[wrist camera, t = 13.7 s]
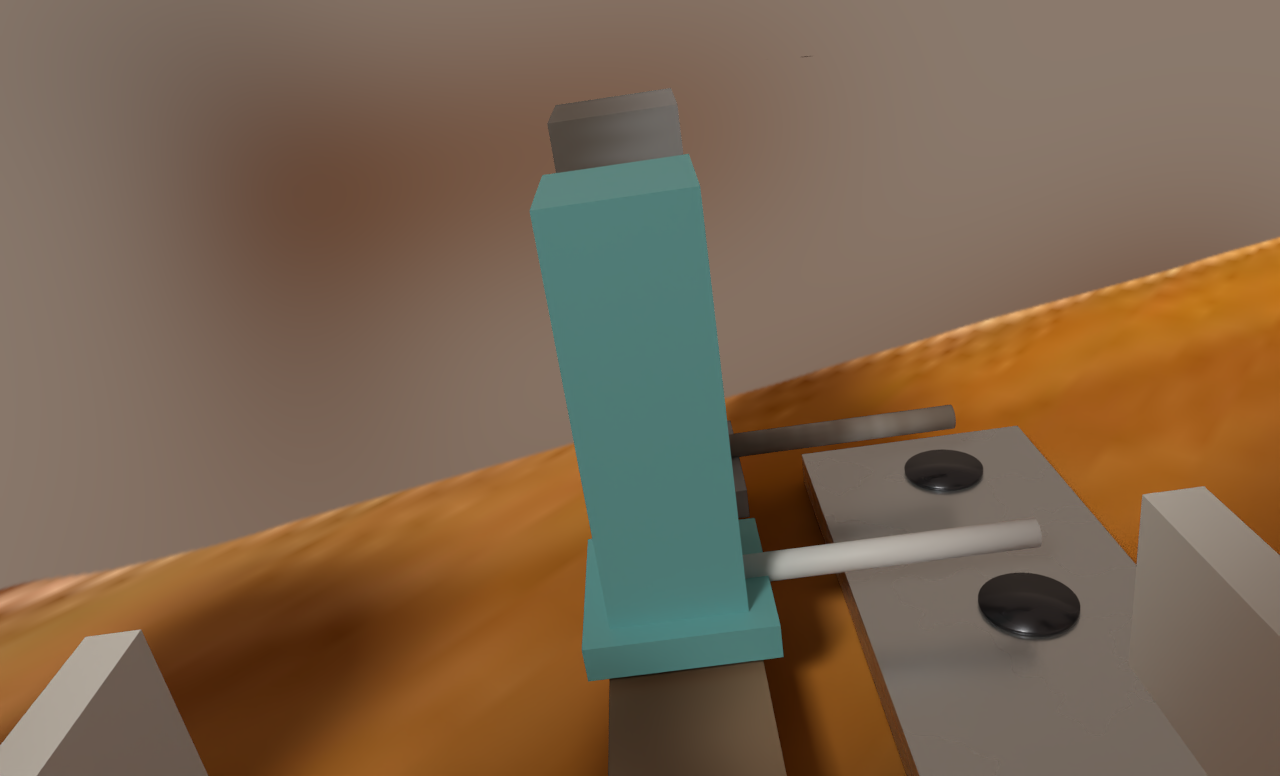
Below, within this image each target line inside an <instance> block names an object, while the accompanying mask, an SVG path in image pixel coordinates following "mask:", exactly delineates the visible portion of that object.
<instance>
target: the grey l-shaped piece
mask: <svg viewBox="0 0 1280 776" xmlns="http://www.w3.org/2000/svg"><path fill="white" fill-rule="evenodd" d="M548 129H549V135H550V141H551V147H552V152H553V158H554V163H555V169H556V173H561V172H568V171H575V170H582V169H589V168H595V167H602V166H609V165H616V164H623V163H630V162H636V161H643V160H650V159H657V158H664V157H671V156H677V155H683V148H682V140H681V133H680V123H679V115H678V108H677V103H676V100H675V97H674V95H673V92H672V90H671V88H668V89H662V90H655V91H648V92H642V93H635V94H628V95H622V96H615V97H608V98H602V99H595V100H588V101H582V102H575V103H568V104H561V105H556V106H555V108H554V110H553V112H552V115H551V117H550V119H549V121H548ZM955 424H956V420H955V413H954V410H953V407H952V406H951V405H945V406H938V407H930V408H923V409H915V410H908V411H900V412H893V413H885V414H878V415H870V416H863V417H855V418H848V419H841V420H833V421H826V422H818V423H811V424H803V425H796V426H788V427H781V428H773V429H766V430H758V431H751V432H743V433H736V434H733V430H732V426H731V422H730V421H727V425H728V433H729V442H730V451H731V459H732V468H733V477H734V486H735V494H736V503H737V512H738V518H743V517H750V515H749V505H748V496H747V489H746V485H745V480H744V476H743V472H742V468H741V464H740V459H739V457H741V456H749V455H756V454H764V453H771V452H779V451H787V450H794V449H802V448H809V447H817V446H824V445H832V444H839V443H847V442H854V441H862V440H869V439H877V438H884V437H892V436H899V435H907V434H914V433H922V432H929V431H937V430H945V429H952V428H955ZM608 776H787V774H786V770H785V765H784V760H783V755H782V750H781V745H780V740H779V735H778V730H777V725H776V721H775V716H774V711H773V706H772V701H771V696H770V691H769V686H768V681H767V676H766V672H765V667H764V662H763V660H757V661H749V662H741V663H733V664H724V665H716V666H708V667H700V668H692V669H684V670H676V671H668V672H660V673H652V674H644V675H636V676H628V677H620V678H612V679H610V690H609V756H608Z"/></svg>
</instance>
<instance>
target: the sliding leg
mask: <svg viewBox="0 0 1280 776" xmlns="http://www.w3.org/2000/svg"><path fill="white" fill-rule="evenodd" d="M530 215H531V221H532V226H533V231H534V236H535V242H536V246H537V252H538V257H539V262H540V268H541V273H542V278H543V283H544V289H545V294H546V299H547V304H548V309H549V315H550V320H551V325H552V330H553V335H554V341H555V346H556V351H557V356H558V362H559V367H560V372H561V377H562V382H563V388H564V393H565V398H566V403H567V409H568V414H569V419H570V424H571V429H572V435H573V440H574V445H575V450H576V456H577V461H578V466H579V471H580V476H581V482H582V487H583V492H584V497H585V502H586V508H587V513H588V518H589V523H590V529H591V534H592V539H588V550H587V568H586V586H585V604H584V622H583V639H582V653H583V658H584V663H585V668H586V673H587V677H588V681H595V680H604V679H612V678H620V677H628V676H636V675H644V674H652V673H660V672H668V671H676V670H684V669H692V668H700V667H708V666H716V665H724V664H733V663H741V662H749V661H757V660H765V659H773V658H781V657H784V656H783V646H782V636H781V626H780V621H779V617H778V613H777V609H776V605H775V601H774V597H773V592H772V588H771V584H770V582H771V581H779V580H787V579H794V578H802V577H810V576H818V575H826V574H834V573H842V572H849V571H857V570H865V569H873V568H881V567H889V566H896V565H904V564H912V563H920V562H928V561H936V560H944V559H951V558H959V557H967V556H975V555H983V554H991V553H999V552H1006V551H1014V550H1022V549H1030V548H1038V547H1040V546H1041V544H1042V534H1041V529H1040V526H1039V524H1038V522H1037V520H1036V519H1035V518H1026V519H1018V520H1010V521H1003V522H995V523H987V524H979V525H971V526H964V527H956V528H948V529H940V530H933V531H925V532H917V533H909V534H902V535H894V536H886V537H878V538H870V539H863V540H855V541H847V542H839V543H832V544H824V545H816V546H808V547H801V548H793V549H785V550H777V551H769V552H763V551H762V547H761V543H760V538H759V534H758V530H757V526H756V522H755V518H749V519H741V520H738V512H737V503H736V494H735V486H734V477H733V468H732V459H731V451H730V442H729V433H728V425H727V416H726V407H725V399H724V391H723V381H722V373H721V364H720V355H719V347H718V339H717V329H716V321H715V312H714V303H713V296H712V286H711V277H710V268H709V260H708V251H707V244H706V243H707V242H706V234H705V225H704V216H703V208H702V199H701V191H700V185H699V182H698V179H697V176H696V174H695V170H694V168H693V165H692V162H691V159H690V157H689V154H685V155H677V156H671V157H664V158H657V159H650V160H643V161H636V162H630V163H623V164H616V165H609V166H602V167H595V168H589V169H582V170H575V171H568V172H561V173H554V174H548V175H543V176H542V178H541V181H540V183H539V186H538V189H537V192H536V194H535V197H534V200H533V203H532V206H531V208H530Z"/></svg>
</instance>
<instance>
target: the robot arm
mask: <svg viewBox="0 0 1280 776" xmlns="http://www.w3.org/2000/svg"><path fill="white" fill-rule="evenodd" d="M1128 665H1129V666H1130V667H1131V669H1132V670H1133V672H1134V673H1135V674H1136V676H1137V677H1138V679H1139V680H1140V681H1141V683H1142V684H1143V686H1144V687H1145V688H1146V690H1147V691H1148V693H1149V694H1150V695H1151V697H1152V698H1153V700H1154V701H1155V702H1156V704H1157V705H1158V707H1159V708H1160V709H1161V711H1162V712H1163V714H1164V715H1165V716H1166V718H1167V719H1168V721H1169V722H1170V723H1171V725H1172V726H1173V728H1174V729H1175V730H1176V732H1177V733H1178V735H1179V736H1180V737H1181V739H1182V740H1183V742H1184V743H1185V744H1186V746H1187V747H1188V749H1189V750H1190V751H1191V753H1192V754H1193V756H1194V757H1195V758H1196V760H1197V761H1198V763H1199V764H1200V765H1201V767H1202V768H1203V770H1204V771H1205V772H1206V774H1207V775H1208V776H1280V555H1279V554H1278V553H1277V552H1275V551H1274V550H1273V549H1272V548H1271V547H1270V546H1269V545H1268V544H1267V543H1266V542H1264V541H1263V540H1262V539H1261V538H1260V537H1259V536H1258V535H1257V534H1256V533H1255V532H1254V531H1252V530H1251V529H1250V528H1249V527H1248V526H1247V525H1246V524H1245V523H1244V522H1243V521H1241V520H1240V519H1239V518H1238V517H1237V516H1236V515H1235V514H1234V513H1233V512H1232V511H1230V510H1229V509H1228V508H1227V507H1226V506H1225V505H1224V504H1223V503H1222V502H1221V501H1219V500H1218V499H1217V498H1216V497H1215V496H1214V495H1213V494H1212V493H1211V492H1210V491H1208V490H1207V489H1206V488H1205V487H1204V486H1203V487H1196V488H1188V489H1181V490H1174V491H1166V492H1159V493H1151V494H1144V495H1142V506H1141V518H1140V530H1139V542H1138V554H1137V566H1136V578H1135V590H1134V602H1133V614H1132V626H1131V638H1130V649H1129V661H1128ZM0 776H208V774H207V772H206V770H205V768H204V765H203V763H202V761H201V759H200V757H199V755H198V752H197V750H196V748H195V746H194V744H193V741H192V739H191V737H190V735H189V733H188V731H187V728H186V726H185V724H184V722H183V720H182V718H181V715H180V713H179V711H178V709H177V707H176V705H175V702H174V700H173V698H172V696H171V694H170V691H169V689H168V687H167V685H166V683H165V681H164V678H163V676H162V674H161V672H160V670H159V668H158V665H157V663H156V661H155V659H154V657H153V655H152V652H151V650H150V648H149V646H148V644H147V641H146V639H145V637H144V635H143V633H142V631H141V630H134V631H127V632H119V633H112V634H104V635H97V636H89V637H85V638H84V640H83V641H82V642H81V643H80V645H79V646H78V647H77V648H76V650H75V651H74V652H73V654H72V655H71V656H70V657H69V659H68V660H67V661H66V662H65V664H64V665H63V666H62V668H61V669H60V670H59V671H58V673H57V674H56V675H55V676H54V678H53V679H52V680H51V682H50V683H49V684H48V685H47V687H46V688H45V689H44V690H43V692H42V693H41V694H40V695H39V697H38V698H37V699H36V701H35V702H34V703H33V704H32V706H31V707H30V708H29V709H28V711H27V712H26V713H25V715H24V716H23V717H22V718H21V720H20V721H19V722H18V723H17V725H16V726H15V727H14V729H13V730H12V731H11V732H10V734H9V735H8V736H7V737H6V739H5V740H4V741H3V742H2V744H1V745H0Z"/></svg>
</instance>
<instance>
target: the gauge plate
mask: <svg viewBox="0 0 1280 776" xmlns="http://www.w3.org/2000/svg"><path fill="white" fill-rule="evenodd" d="M802 465H803V477H804V484H805V487H806V490H807V492H808V495H809V498H810V501H811V504H812V507H813V509H814V512H815V515H816V518H817V521H818V524H819V526H820V529H821V532H822V535H823V538H824V541H825V544H832V543H839V542H847V541H855V540H863V539H870V538H878V537H886V536H894V535H902V534H909V533H917V532H925V531H933V530H940V529H948V528H956V527H964V526H971V525H979V524H987V523H995V522H1003V521H1010V520H1018V519H1026V518H1035V519H1036V520H1037V522H1038V524H1039V526H1040V529H1041V534H1042V544H1041V546H1040V547H1038V548H1030V549H1022V550H1014V551H1006V552H999V553H991V554H983V555H975V556H967V557H959V558H951V559H944V560H936V561H928V562H920V563H912V564H904V565H896V566H889V567H881V568H873V569H865V570H857V571H849V572H842V573H836V575H837V578H838V581H839V583H840V586H841V589H842V592H843V595H844V598H845V600H846V603H847V606H848V609H849V612H850V615H851V617H852V620H853V623H854V626H855V629H856V632H857V635H858V637H859V640H860V643H861V646H862V649H863V652H864V654H865V657H866V660H867V663H868V666H869V669H870V672H871V674H872V677H873V680H874V683H875V686H876V689H877V691H878V694H879V697H880V700H881V703H882V706H883V708H884V711H885V714H886V717H887V720H888V723H889V726H890V728H891V731H892V734H893V737H894V740H895V743H896V745H897V748H898V751H899V754H900V757H901V760H902V763H903V765H904V768H905V771H906V774H907V776H1208V775H1207V774H1206V772H1205V771H1204V770H1203V768H1202V767H1201V765H1200V764H1199V763H1198V761H1197V760H1196V758H1195V757H1194V756H1193V754H1192V753H1191V751H1190V750H1189V749H1188V747H1187V746H1186V744H1185V743H1184V742H1183V740H1182V739H1181V737H1180V736H1179V735H1178V733H1177V732H1176V730H1175V729H1174V728H1173V726H1172V725H1171V723H1170V722H1169V721H1168V719H1167V718H1166V716H1165V715H1164V714H1163V712H1162V711H1161V709H1160V708H1159V707H1158V705H1157V704H1156V702H1155V701H1154V700H1153V698H1152V697H1151V695H1150V694H1149V693H1148V691H1147V690H1146V688H1145V687H1144V686H1143V684H1142V683H1141V681H1140V680H1139V679H1138V677H1137V676H1136V674H1135V673H1134V672H1133V670H1132V669H1131V667H1130V666H1129V665H1128V661H1129V649H1130V638H1131V626H1132V614H1133V602H1134V590H1135V578H1136V566H1137V565H1136V564H1135V563H1134V562H1133V561H1132V560H1131V558H1130V557H1129V556H1128V555H1127V554H1126V553H1125V551H1124V550H1123V549H1122V548H1121V547H1120V546H1119V544H1118V543H1117V542H1116V541H1115V540H1114V539H1113V537H1112V536H1111V535H1110V534H1109V533H1108V531H1107V530H1106V529H1105V528H1104V527H1103V526H1102V524H1101V523H1100V522H1099V521H1098V520H1097V519H1096V517H1095V516H1094V515H1093V514H1092V513H1091V512H1090V510H1089V509H1088V508H1087V507H1086V506H1085V505H1084V503H1083V502H1082V501H1081V500H1080V499H1079V497H1078V496H1077V495H1076V494H1075V493H1074V492H1073V490H1072V489H1071V488H1070V487H1069V486H1068V485H1067V483H1066V482H1065V481H1064V480H1063V479H1062V478H1061V476H1060V475H1059V474H1058V473H1057V472H1056V471H1055V469H1054V468H1053V467H1052V466H1051V465H1050V464H1049V462H1048V461H1047V460H1046V459H1045V458H1044V456H1043V455H1042V454H1041V453H1040V452H1039V451H1038V449H1037V448H1036V447H1035V446H1034V445H1033V444H1032V442H1031V441H1030V440H1029V439H1028V438H1027V437H1026V435H1025V434H1024V433H1023V432H1022V431H1021V430H1020V428H1019V427H1018V426H1012V427H1005V428H997V429H990V430H982V431H974V432H967V433H959V434H952V435H944V436H937V437H929V438H922V439H914V440H907V441H899V442H892V443H884V444H876V445H869V446H861V447H854V448H846V449H839V450H831V451H824V452H816V453H809V454H802Z"/></svg>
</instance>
